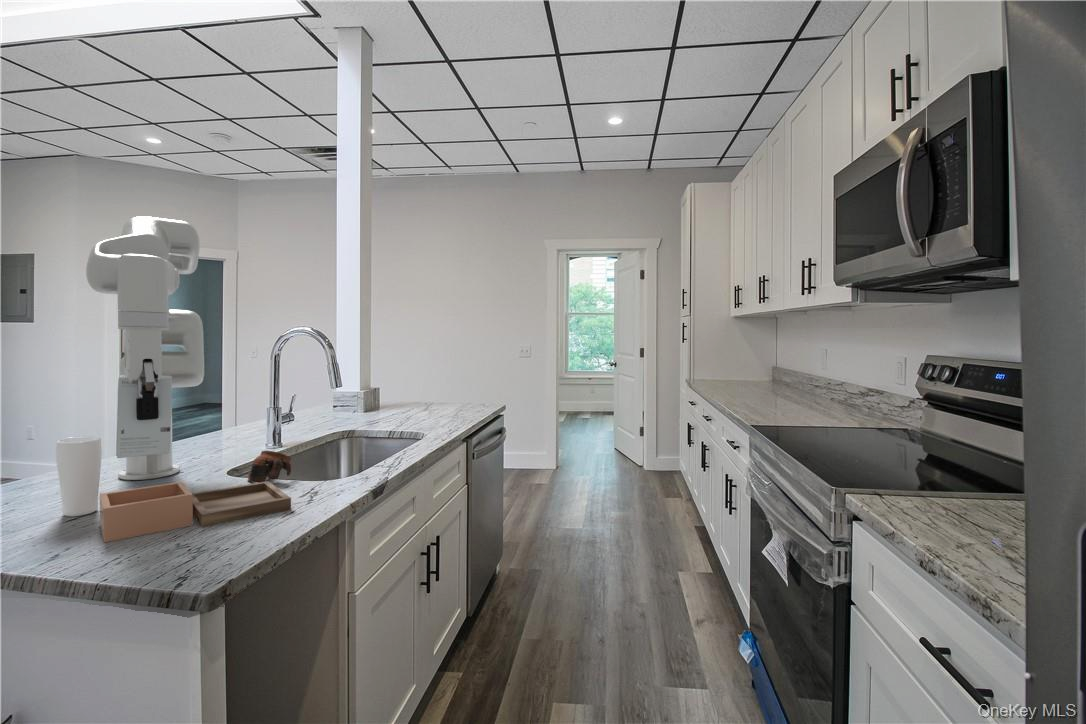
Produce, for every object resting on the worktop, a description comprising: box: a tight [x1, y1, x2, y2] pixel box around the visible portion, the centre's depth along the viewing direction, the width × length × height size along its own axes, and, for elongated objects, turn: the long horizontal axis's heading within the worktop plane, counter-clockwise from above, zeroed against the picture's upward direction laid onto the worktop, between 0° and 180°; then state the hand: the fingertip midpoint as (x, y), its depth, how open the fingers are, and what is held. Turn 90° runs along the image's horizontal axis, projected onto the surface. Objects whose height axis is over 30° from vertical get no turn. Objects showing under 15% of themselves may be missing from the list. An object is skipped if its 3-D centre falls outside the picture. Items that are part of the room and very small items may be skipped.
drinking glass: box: [55, 435, 103, 517], centre depth 104 cm, size 7×7×15 cm
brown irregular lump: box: [247, 450, 292, 483], centre depth 131 cm, size 12×10×8 cm
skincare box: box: [115, 374, 173, 459], centre depth 98 cm, size 8×6×15 cm
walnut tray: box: [191, 480, 292, 528], centre depth 109 cm, size 16×16×2 cm
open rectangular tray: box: [99, 481, 194, 543], centre depth 99 cm, size 11×13×6 cm
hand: (145, 415), depth 98 cm, fingers closed on skincare box, 6 cm apart
